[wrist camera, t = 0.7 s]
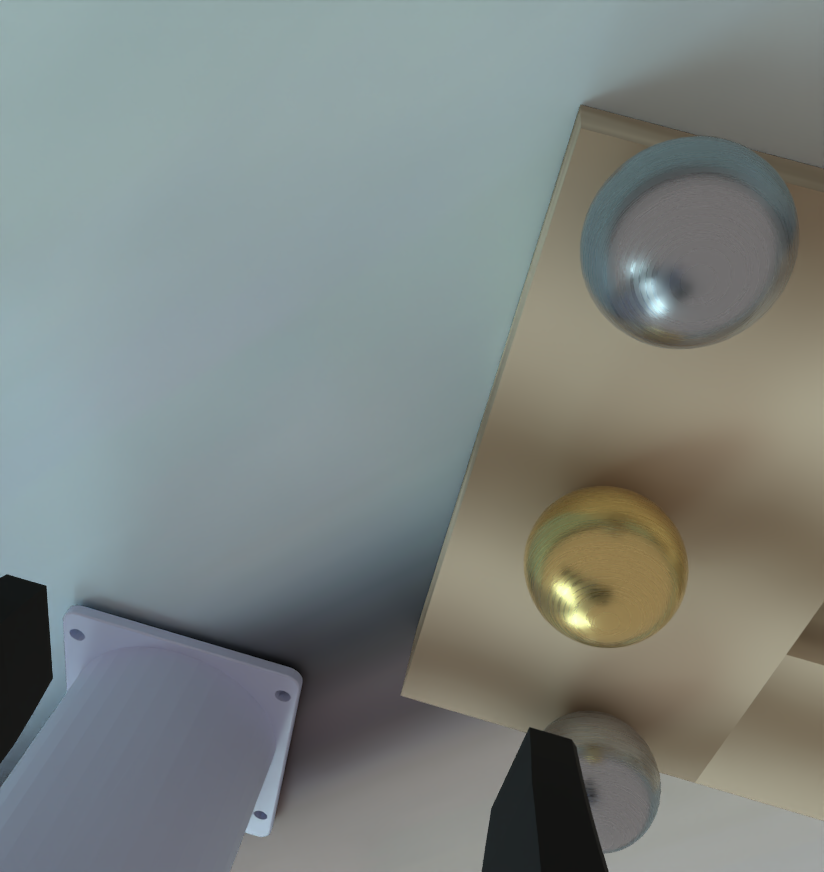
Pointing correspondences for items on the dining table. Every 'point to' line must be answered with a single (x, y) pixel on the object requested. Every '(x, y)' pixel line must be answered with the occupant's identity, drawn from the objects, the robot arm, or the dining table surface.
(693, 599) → the plate
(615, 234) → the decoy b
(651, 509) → the ball
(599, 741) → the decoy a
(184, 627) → the dining table surface
